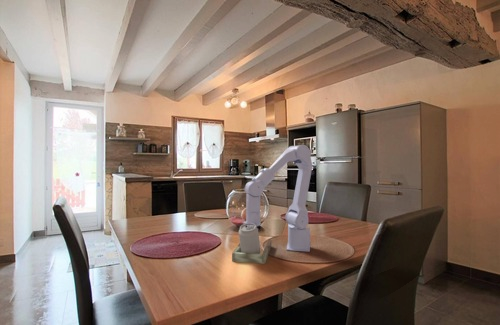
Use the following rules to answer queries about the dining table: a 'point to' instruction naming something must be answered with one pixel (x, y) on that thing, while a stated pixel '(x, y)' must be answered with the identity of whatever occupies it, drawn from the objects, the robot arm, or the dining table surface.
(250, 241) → the can
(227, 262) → the dining table surface
